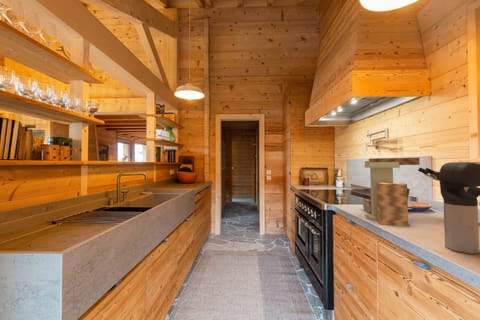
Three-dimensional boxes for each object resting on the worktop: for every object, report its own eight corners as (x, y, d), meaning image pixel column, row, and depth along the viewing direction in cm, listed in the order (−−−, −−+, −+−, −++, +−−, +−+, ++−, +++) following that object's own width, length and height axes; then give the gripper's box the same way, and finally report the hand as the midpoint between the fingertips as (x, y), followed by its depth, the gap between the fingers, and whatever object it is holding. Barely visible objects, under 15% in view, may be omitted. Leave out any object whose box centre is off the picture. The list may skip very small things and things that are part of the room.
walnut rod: (416, 164, 124) (416, 157, 124) (419, 164, 120) (419, 157, 120) (368, 165, 133) (368, 158, 133) (370, 165, 129) (370, 158, 129)
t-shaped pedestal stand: (395, 218, 130) (394, 160, 130) (401, 222, 120) (399, 160, 121) (365, 216, 135) (364, 161, 136) (368, 219, 126) (367, 161, 127)
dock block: (403, 222, 120) (402, 182, 120) (409, 226, 112) (408, 184, 112) (376, 220, 125) (375, 182, 125) (380, 224, 116) (379, 183, 117)
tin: (375, 214, 139) (375, 201, 139) (370, 214, 140) (370, 201, 140) (366, 209, 154) (366, 197, 154) (362, 209, 154) (361, 197, 154)
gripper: (457, 191, 111) (423, 175, 116) (443, 188, 124) (413, 174, 129) (467, 179, 109) (432, 163, 115) (451, 177, 123) (420, 163, 128)
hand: (422, 169), depth 122 cm, fingers open, 8 cm apart
